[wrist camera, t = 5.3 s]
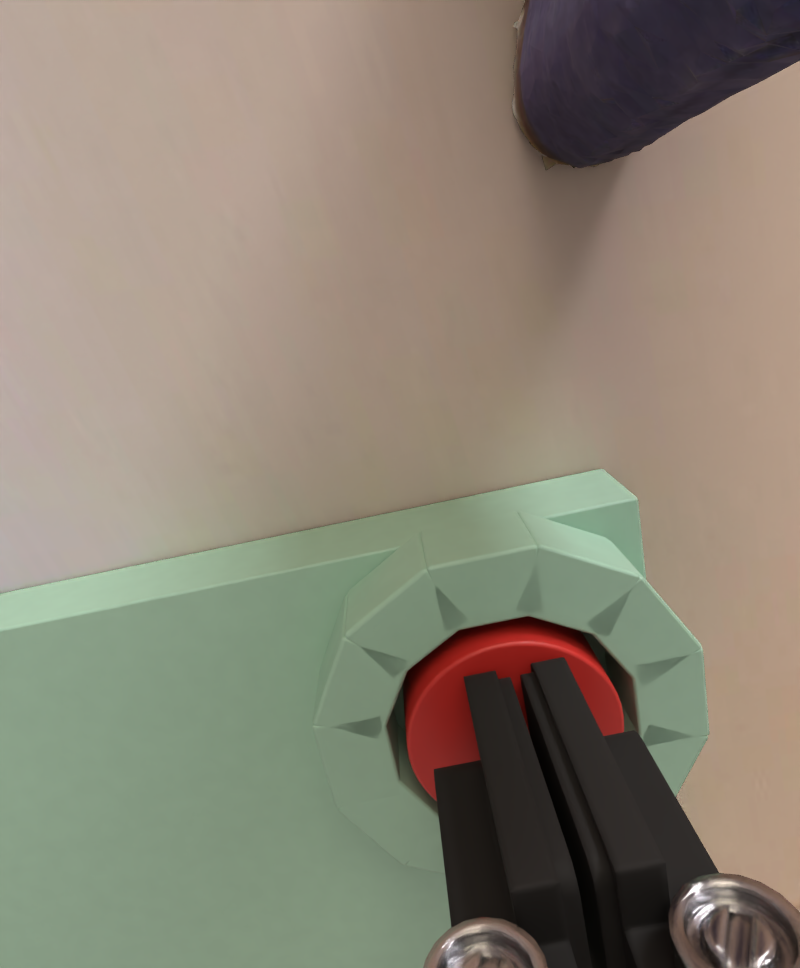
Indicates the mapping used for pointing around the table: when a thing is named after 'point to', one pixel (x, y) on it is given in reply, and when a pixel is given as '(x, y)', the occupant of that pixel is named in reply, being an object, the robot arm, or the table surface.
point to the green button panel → (290, 727)
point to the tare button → (509, 651)
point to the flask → (638, 68)
